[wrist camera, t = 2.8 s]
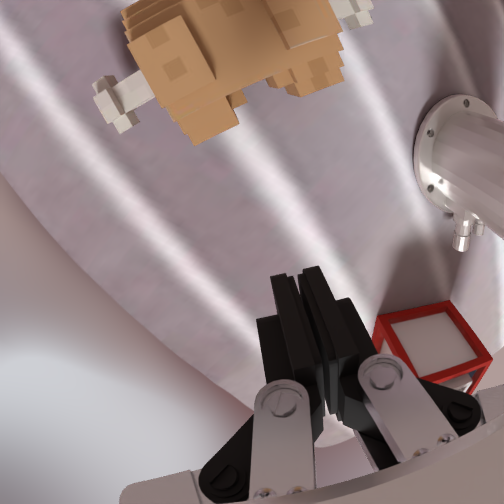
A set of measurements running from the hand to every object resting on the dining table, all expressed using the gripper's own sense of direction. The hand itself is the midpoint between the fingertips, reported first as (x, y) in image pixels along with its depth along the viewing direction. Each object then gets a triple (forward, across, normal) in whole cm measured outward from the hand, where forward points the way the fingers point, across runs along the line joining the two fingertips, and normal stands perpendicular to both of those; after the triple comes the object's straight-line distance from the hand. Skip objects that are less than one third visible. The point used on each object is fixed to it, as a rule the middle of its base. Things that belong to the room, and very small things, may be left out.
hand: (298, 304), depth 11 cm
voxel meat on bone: (+18, 0, -10) cm, 21 cm away
